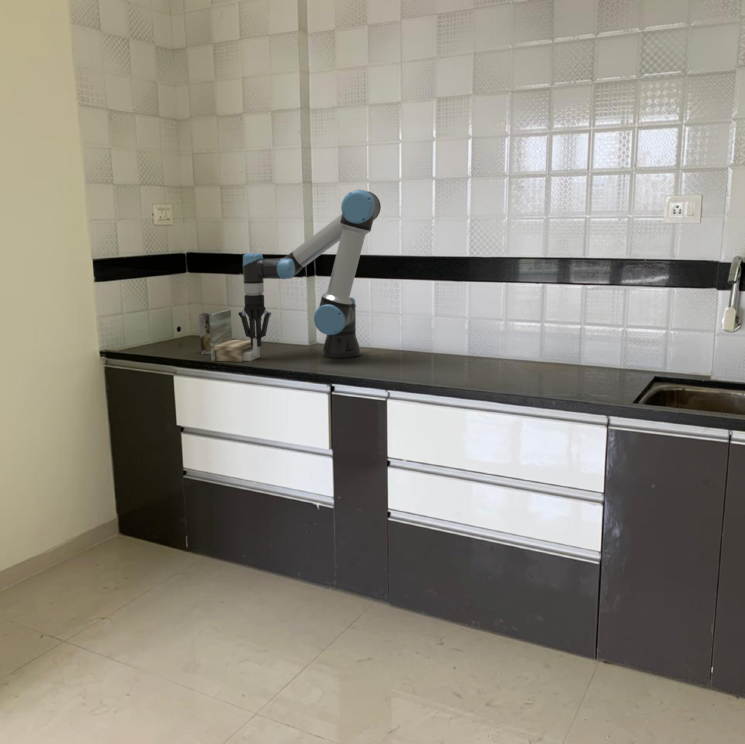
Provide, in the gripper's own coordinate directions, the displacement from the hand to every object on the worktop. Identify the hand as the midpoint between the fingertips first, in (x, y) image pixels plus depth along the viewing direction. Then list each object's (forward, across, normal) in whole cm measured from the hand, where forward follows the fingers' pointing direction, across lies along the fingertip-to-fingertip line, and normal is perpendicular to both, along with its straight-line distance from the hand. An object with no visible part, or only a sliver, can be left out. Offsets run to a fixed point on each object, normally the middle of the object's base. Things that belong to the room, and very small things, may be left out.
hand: (256, 354), depth 287 cm
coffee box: (+2, +23, -10) cm, 25 cm away
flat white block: (+2, +6, 0) cm, 6 cm away
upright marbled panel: (+2, +9, 0) cm, 9 cm away
